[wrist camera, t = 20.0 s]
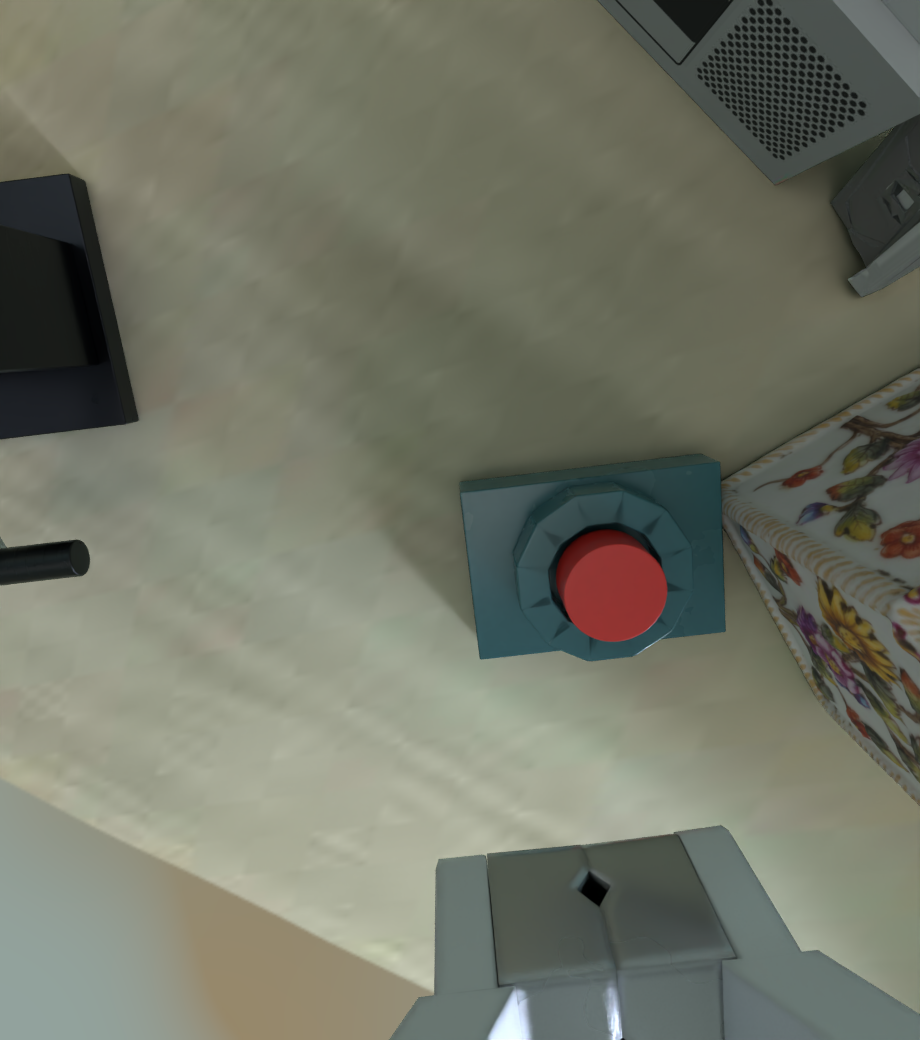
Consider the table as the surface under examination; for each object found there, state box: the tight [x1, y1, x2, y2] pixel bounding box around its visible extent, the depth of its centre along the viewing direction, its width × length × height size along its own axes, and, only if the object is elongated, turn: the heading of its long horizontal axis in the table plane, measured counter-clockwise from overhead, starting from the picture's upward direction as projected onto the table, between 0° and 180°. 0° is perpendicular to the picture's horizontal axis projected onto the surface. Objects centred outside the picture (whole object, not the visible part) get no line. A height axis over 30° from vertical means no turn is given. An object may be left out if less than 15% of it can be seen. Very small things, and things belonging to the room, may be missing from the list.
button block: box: [459, 454, 726, 661], centre depth 28 cm, size 10×7×4 cm
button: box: [556, 529, 667, 642], centre depth 26 cm, size 4×4×2 cm
